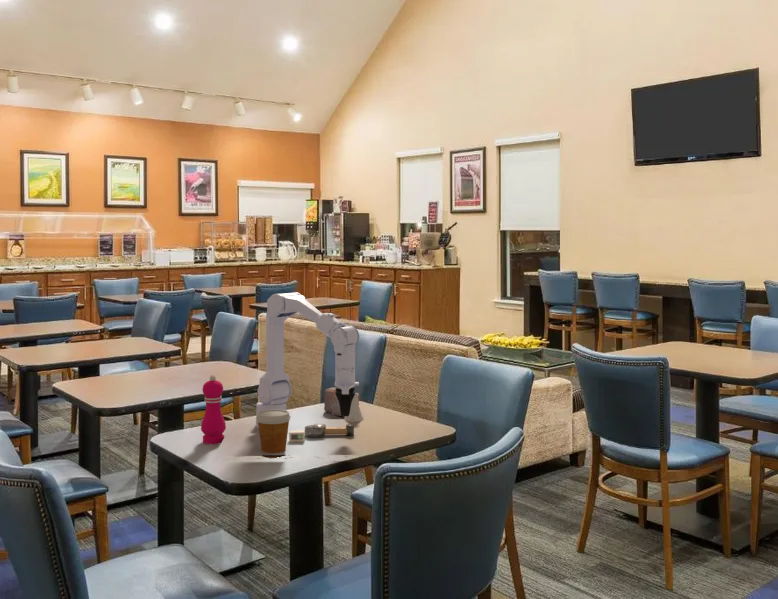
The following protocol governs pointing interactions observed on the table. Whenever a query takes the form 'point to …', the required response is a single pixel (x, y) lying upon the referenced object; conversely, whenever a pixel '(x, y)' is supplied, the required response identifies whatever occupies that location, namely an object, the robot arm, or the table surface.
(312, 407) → the table surface
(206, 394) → the pepper mill
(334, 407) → the food item
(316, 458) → the table surface
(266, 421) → the disposable coffee cup
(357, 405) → the flask
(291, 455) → the table surface
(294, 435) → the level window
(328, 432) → the wooden handled metal tool
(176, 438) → the table surface
